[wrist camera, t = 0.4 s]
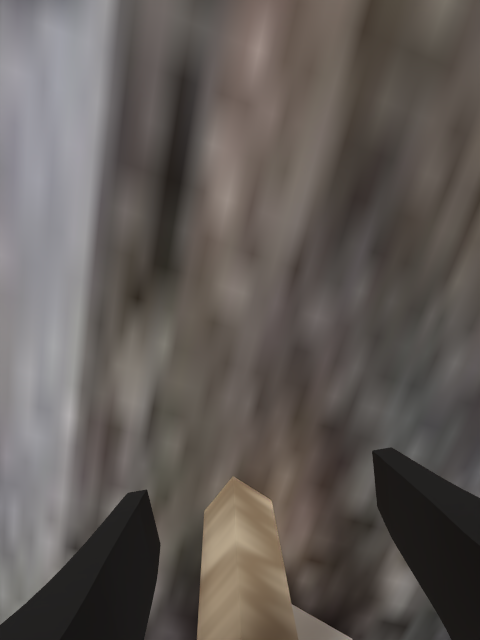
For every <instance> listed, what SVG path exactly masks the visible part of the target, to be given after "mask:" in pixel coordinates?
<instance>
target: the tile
mask: <svg viewBox="0 0 480 640" xmlns="http://www.w3.org/2000/svg"><path fill="white" fill-rule="evenodd" d="M292 609H293V614H294V620H295V625H296V630H297V635H298V640H352V638H350V637H348V636H346V635H345V634H343V633H341V632H339V631H338V630H336V629H334V628H332V627H331V626H329V625H327V624H325V623H324V622H322V621H320V620H318V619H317V618H315V617H313V616H312V615H310V614H308V613H306V612H305V611H303V610H301V609H299V608H298V607H296V606H294V605H292Z"/></svg>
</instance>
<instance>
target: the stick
mask: <svg viewBox="0 0 480 640" xmlns="http://www.w3.org/2000/svg"><path fill="white" fill-rule="evenodd" d="M197 640H298V635H297V630H296V625H295V620H294V614H293V609H292V604H291V599H290V594H289V589H288V583H287V578H286V573H285V568H284V563H283V557H282V552H281V547H280V542H279V537H278V531H277V526H276V521H275V516H274V511H273V506H272V500H270V499H268V498H267V497H265V496H264V495H262V494H260V493H259V492H257V491H256V490H254V489H252V488H251V487H249V486H248V485H246V484H245V483H243V482H241V481H240V480H238V479H237V478H235V477H232V478H231V479H230V481H229V482H228V483H227V484H226V485H225V487H224V488H223V489H222V490H221V492H220V493H219V494H218V495H217V497H216V498H215V499H214V500H213V501H212V503H211V504H210V505H209V506H208V508H207V509H206V510H205V511H204V527H203V544H202V561H201V578H200V595H199V612H198V629H197Z"/></svg>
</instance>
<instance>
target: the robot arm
mask: <svg viewBox="0 0 480 640" xmlns="http://www.w3.org/2000/svg"><path fill="white" fill-rule="evenodd" d="M372 454H373V464H374V475H375V486H376V497H377V507H378V509H379V511H380V513H381V516H382V518H383V520H384V522H385V525H386V527H387V529H388V531H389V533H390V535H391V537H392V539H393V541H394V543H395V544H396V546H397V548H398V549H399V551H400V553H401V554H402V556H403V558H404V559H405V561H406V563H407V564H408V566H409V568H410V569H411V571H412V572H413V574H414V576H415V577H416V579H417V581H418V582H419V584H420V586H421V587H422V589H423V591H424V592H425V594H426V595H427V597H428V599H429V600H430V602H431V604H432V605H433V607H434V609H435V610H436V612H437V614H438V615H439V617H440V619H441V621H442V623H443V624H444V626H445V628H446V630H447V632H448V634H449V636H450V638H451V640H480V498H478V497H476V496H475V495H473V494H471V493H469V492H467V491H465V490H463V489H461V488H459V487H457V486H456V485H454V484H452V483H450V482H448V481H447V480H445V479H443V478H441V477H440V476H438V475H436V474H435V473H433V472H431V471H429V470H428V469H426V468H425V467H423V466H421V465H420V464H418V463H416V462H415V461H413V460H411V459H410V458H408V457H406V456H405V455H403V454H402V453H400V452H398V451H397V450H395V449H393V448H386V449H380V450H374V451H372ZM159 554H160V540H159V536H158V532H157V528H156V524H155V520H154V516H153V512H152V508H151V504H150V500H149V496H148V492H147V490H142V491H136V492H130V493H127V495H126V496H125V497H124V498H123V499H122V500H121V501H120V503H119V504H118V505H117V506H116V507H115V509H114V510H113V511H112V512H111V513H110V515H109V516H108V517H107V518H106V519H105V521H104V522H103V523H102V524H101V525H100V527H99V528H98V529H97V530H96V531H95V532H94V534H93V535H92V536H91V537H90V538H89V539H88V541H87V542H86V543H85V544H84V545H83V546H82V547H81V548H80V549H79V551H78V552H77V553H76V554H75V555H74V556H73V557H72V558H71V559H70V560H69V561H68V562H67V564H66V565H65V566H64V567H63V568H62V569H61V570H60V571H59V572H58V573H57V574H56V575H55V576H54V577H53V578H52V579H51V580H50V581H49V582H48V583H47V584H46V585H45V586H44V587H43V588H42V589H41V590H40V591H39V592H38V593H36V594H35V595H34V596H33V597H32V598H31V599H30V600H29V601H28V602H27V603H26V604H25V605H23V606H22V607H21V608H20V609H19V610H18V611H16V612H15V613H14V614H13V615H12V616H10V617H9V618H8V619H7V620H6V621H4V622H3V623H2V624H1V625H0V640H144V636H145V632H146V627H147V623H148V618H149V614H150V609H151V605H152V600H153V595H154V591H155V586H156V581H157V574H158V565H159Z"/></svg>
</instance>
